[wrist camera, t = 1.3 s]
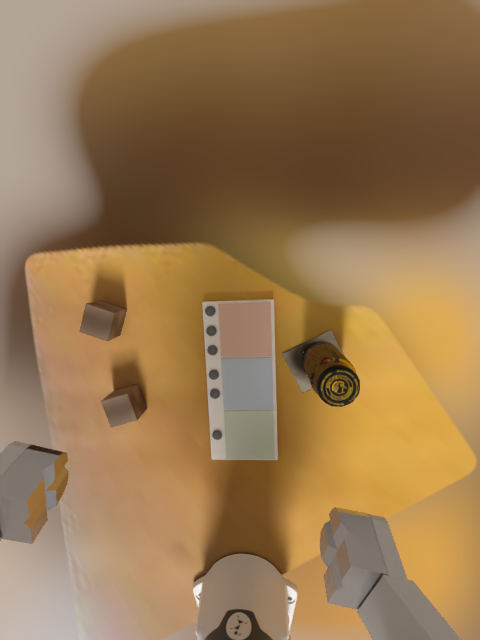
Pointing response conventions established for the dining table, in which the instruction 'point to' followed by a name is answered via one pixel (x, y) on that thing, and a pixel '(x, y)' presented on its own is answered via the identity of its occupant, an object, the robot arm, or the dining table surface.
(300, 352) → the condiment
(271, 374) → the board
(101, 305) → the walnut block
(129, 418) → the walnut block
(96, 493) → the dining table surface
